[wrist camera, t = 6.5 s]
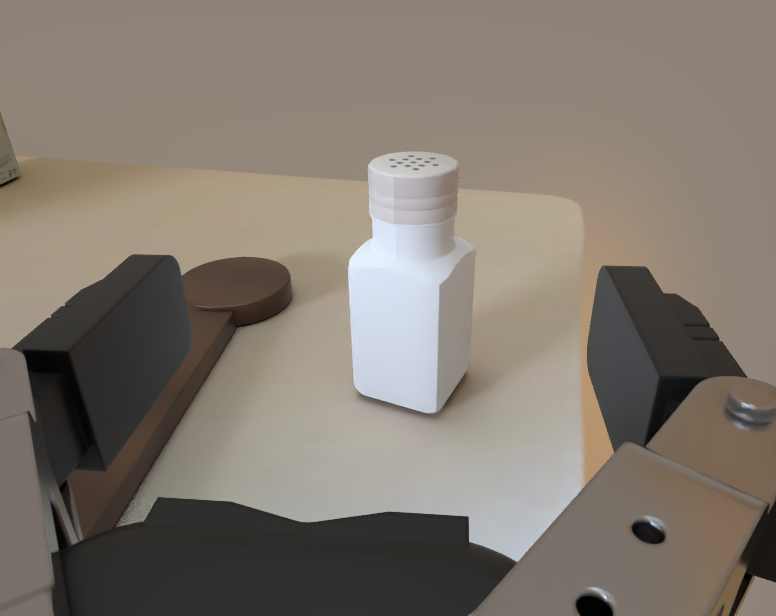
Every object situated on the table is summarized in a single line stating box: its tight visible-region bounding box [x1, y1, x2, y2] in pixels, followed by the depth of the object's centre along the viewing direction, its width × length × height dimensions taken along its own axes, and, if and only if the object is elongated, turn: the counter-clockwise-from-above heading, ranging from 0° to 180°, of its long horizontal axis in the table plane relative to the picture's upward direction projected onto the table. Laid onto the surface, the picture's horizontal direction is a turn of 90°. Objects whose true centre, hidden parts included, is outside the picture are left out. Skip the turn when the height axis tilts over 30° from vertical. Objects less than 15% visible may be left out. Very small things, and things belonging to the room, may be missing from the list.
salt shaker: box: [348, 151, 476, 413], centre depth 24 cm, size 4×4×10 cm
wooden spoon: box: [68, 257, 292, 540], centre depth 27 cm, size 21×6×1 cm, turn 174°
